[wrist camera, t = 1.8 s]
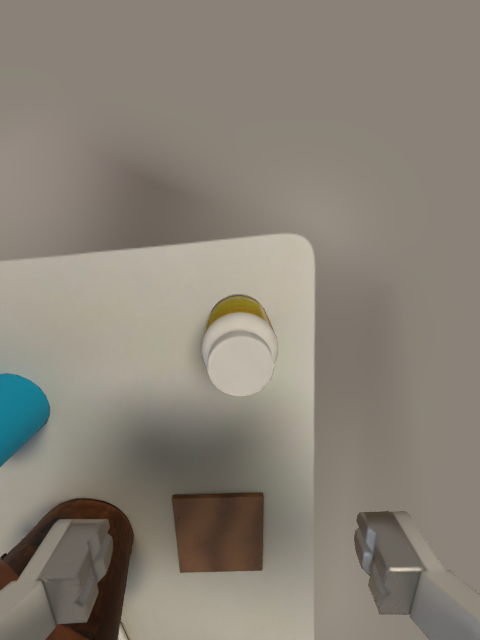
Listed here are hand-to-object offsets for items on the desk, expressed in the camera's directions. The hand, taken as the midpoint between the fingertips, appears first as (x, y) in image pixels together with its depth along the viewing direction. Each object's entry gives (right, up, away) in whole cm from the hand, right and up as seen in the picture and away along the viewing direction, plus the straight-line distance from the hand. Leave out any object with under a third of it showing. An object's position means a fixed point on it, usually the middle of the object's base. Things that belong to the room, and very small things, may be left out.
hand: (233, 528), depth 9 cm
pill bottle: (0, +7, +21) cm, 22 cm away
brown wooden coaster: (-3, -23, +29) cm, 37 cm away
